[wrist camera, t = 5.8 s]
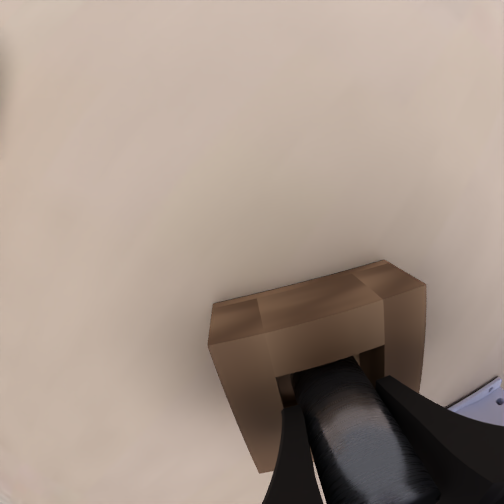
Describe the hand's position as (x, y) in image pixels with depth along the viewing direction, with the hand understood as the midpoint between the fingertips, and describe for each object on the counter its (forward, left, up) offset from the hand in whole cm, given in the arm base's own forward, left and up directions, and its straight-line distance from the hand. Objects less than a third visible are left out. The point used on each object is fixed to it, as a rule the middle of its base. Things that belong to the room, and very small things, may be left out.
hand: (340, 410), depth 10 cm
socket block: (0, 0, -4) cm, 4 cm away
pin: (0, 0, -2) cm, 3 cm away
